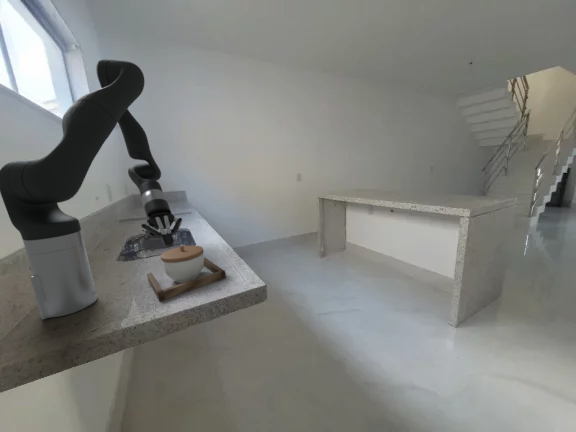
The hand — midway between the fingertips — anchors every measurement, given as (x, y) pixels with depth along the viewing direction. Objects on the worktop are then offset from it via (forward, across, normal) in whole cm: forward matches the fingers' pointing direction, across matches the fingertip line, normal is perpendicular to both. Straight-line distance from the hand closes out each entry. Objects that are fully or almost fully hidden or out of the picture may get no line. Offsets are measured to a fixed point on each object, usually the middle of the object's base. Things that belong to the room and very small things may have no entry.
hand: (169, 245), depth 76 cm
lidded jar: (+15, 0, -6) cm, 16 cm away
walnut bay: (+15, 0, -6) cm, 16 cm away
